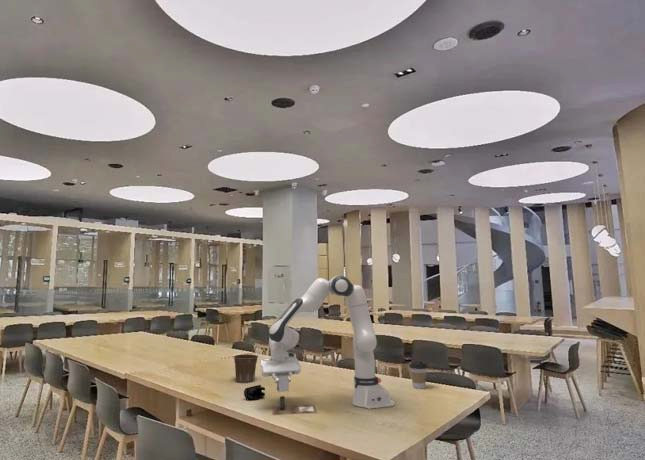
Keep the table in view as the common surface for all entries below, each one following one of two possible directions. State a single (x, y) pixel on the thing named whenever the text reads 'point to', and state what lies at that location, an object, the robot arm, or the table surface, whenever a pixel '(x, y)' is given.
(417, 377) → the coffee cup
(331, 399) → the table surface
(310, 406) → the walnut board
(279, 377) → the tall grey pillar
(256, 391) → the end cap
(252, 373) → the plant pot
